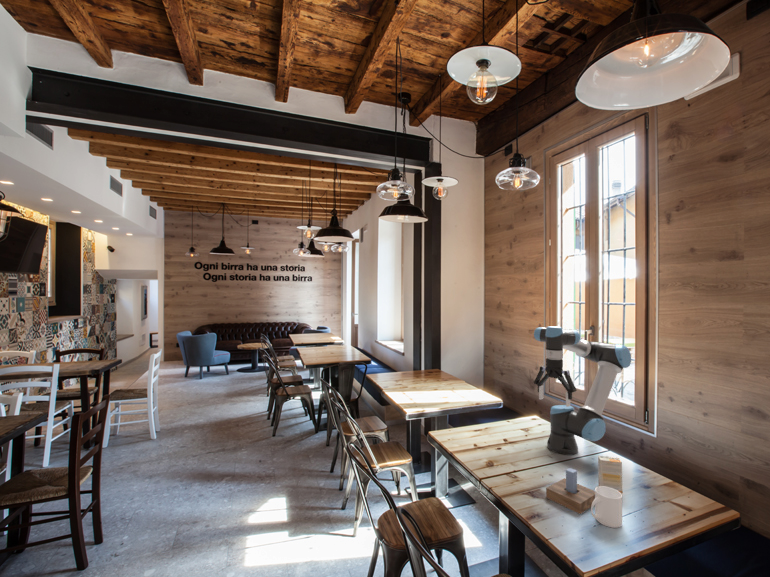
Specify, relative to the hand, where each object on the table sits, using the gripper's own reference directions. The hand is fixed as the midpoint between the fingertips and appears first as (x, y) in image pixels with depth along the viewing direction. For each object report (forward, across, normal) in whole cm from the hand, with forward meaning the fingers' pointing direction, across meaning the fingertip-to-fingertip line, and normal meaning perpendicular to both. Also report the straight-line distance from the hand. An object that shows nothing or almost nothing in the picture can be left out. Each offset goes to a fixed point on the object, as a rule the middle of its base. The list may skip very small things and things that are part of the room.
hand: (554, 402), depth 177 cm
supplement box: (+32, +24, +2) cm, 40 cm away
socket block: (+32, +19, -20) cm, 42 cm away
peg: (+32, +19, -20) cm, 42 cm away
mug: (+32, +34, -24) cm, 52 cm away
